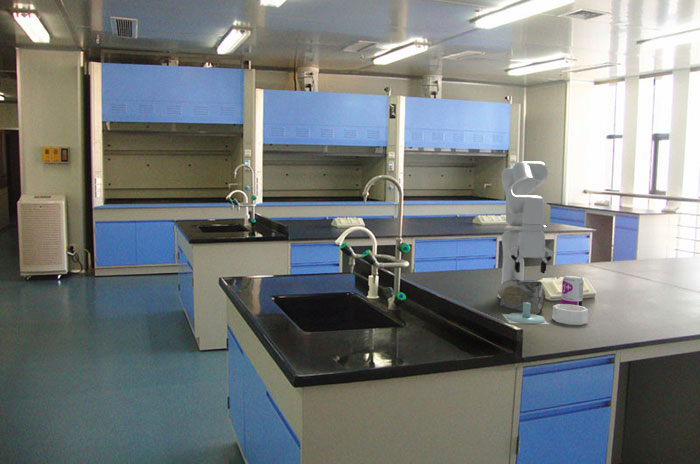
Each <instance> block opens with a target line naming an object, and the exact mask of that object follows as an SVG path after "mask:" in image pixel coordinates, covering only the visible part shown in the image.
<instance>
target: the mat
mask: <svg viewBox="0 0 700 464" xmlns="http://www.w3.org/2000/svg"><path fill="white" fill-rule="evenodd" d="M508 314H509V313H501V315H502V316H503V317H504V319H505V320H506V321H507V322H508V323H509V324H518V325H519V324H522V325H524V324H525V325H526V324H527V325H529V324H528V323H520V322H515V321H512V320H510V319H508ZM537 325H550V323H549V322H547V321H546V320H545V322H543V323H538V324H537Z"/></svg>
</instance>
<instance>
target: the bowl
mask: <svg viewBox="0 0 700 464" xmlns="http://www.w3.org/2000/svg"><path fill="white" fill-rule="evenodd" d="M551 317H552V320H553V321H555V322H557V323H561V324H565V325H575V326H576V325H577V326H582V325H587V323H588V320H589V309H588V308H586V307H585V306H583V305H582V306H578V305H572V304H561V303H558V304H555V305H553V306H552V315H551Z"/></svg>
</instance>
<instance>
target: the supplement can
mask: <svg viewBox="0 0 700 464" xmlns="http://www.w3.org/2000/svg"><path fill="white" fill-rule="evenodd" d="M584 284H585V283H584V279H583V276H580V275H573V274H572V275H570V274H569V275H564V277H563V278H562V285H561V298H560V299H561V301H560V302H561V303H560V304H572V305H578V306H583V297H584Z"/></svg>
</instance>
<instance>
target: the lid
mask: <svg viewBox="0 0 700 464" xmlns="http://www.w3.org/2000/svg"><path fill="white" fill-rule="evenodd" d="M530 307H531V303H528V302H524V303H523V311H522V312H511V313H507V314H508V319H510V320H512V321H515V322H520V323H528V324H527V325H539V324H538V323H543V322H545V321H546V318H545V317H544V316H542V315H538V314H530Z"/></svg>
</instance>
